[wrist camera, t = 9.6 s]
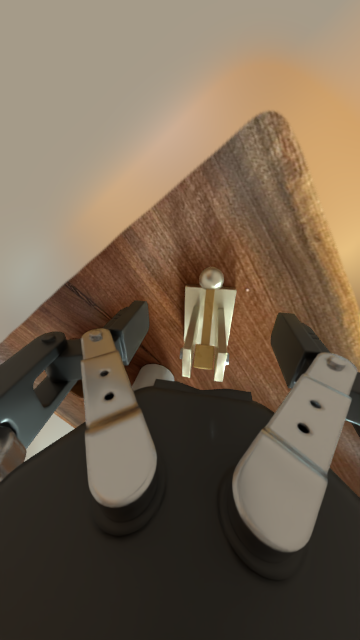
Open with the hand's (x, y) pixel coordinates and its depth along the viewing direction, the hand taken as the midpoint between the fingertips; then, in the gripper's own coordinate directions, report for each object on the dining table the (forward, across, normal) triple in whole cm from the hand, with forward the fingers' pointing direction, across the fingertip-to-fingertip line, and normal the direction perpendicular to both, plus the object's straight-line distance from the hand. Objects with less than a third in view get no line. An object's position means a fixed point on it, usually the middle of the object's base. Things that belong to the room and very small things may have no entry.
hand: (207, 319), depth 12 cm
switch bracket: (+19, 0, +10) cm, 22 cm away
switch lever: (+13, 0, +7) cm, 14 cm away
